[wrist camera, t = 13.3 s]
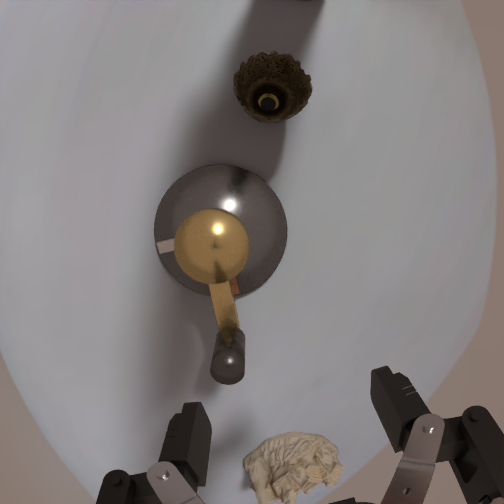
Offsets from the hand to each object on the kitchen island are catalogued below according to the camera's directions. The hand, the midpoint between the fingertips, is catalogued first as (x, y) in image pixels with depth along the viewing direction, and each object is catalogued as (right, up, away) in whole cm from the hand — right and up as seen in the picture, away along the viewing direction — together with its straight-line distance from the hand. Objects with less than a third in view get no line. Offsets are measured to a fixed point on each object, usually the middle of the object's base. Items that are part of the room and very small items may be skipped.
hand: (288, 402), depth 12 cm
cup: (0, +24, +20) cm, 32 cm away
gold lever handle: (-5, +4, +18) cm, 19 cm away
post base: (-5, +9, +23) cm, 26 cm away
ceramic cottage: (+6, -32, +34) cm, 47 cm away
